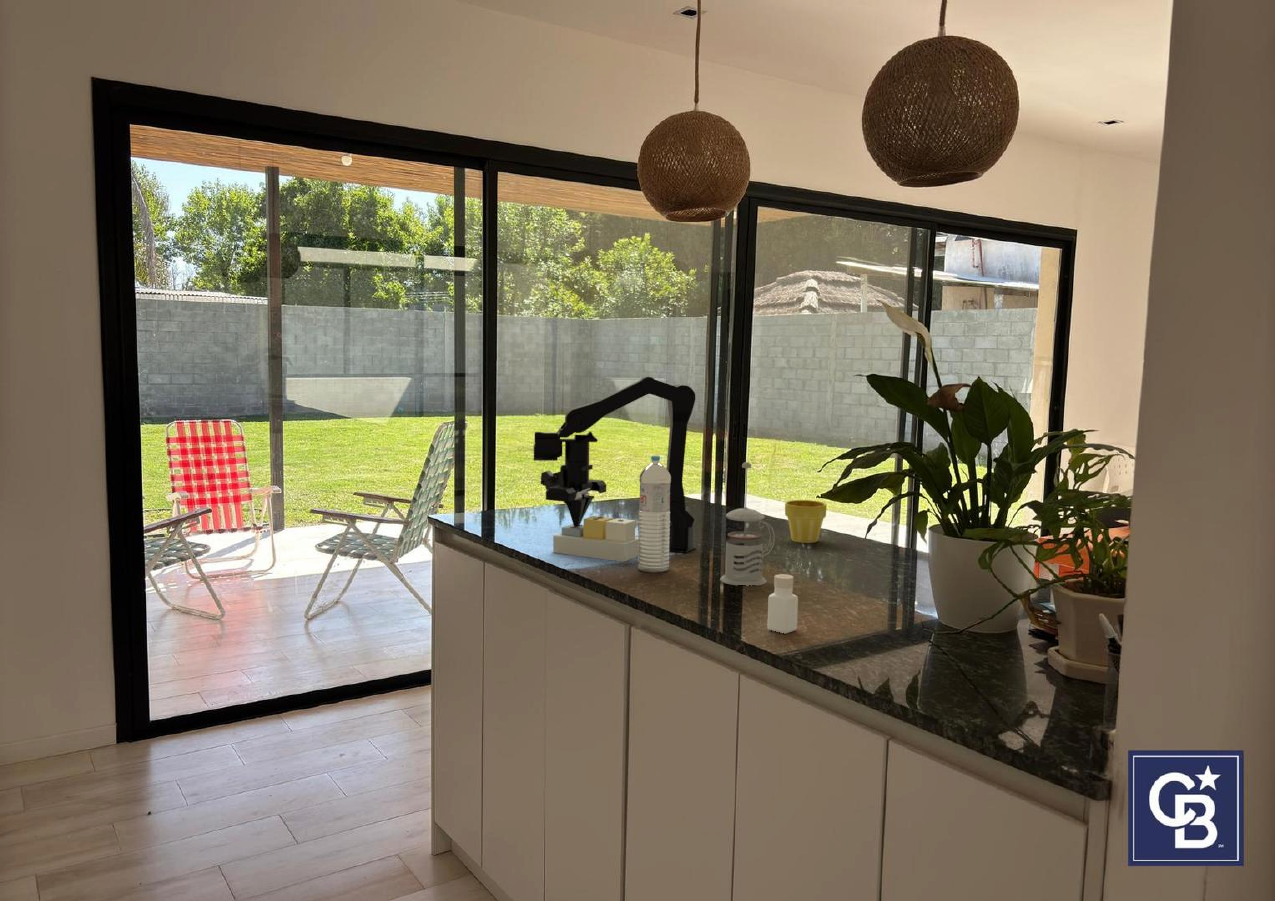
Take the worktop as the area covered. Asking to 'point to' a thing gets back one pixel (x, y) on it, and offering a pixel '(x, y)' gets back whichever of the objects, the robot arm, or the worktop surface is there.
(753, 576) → the french press
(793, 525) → the plant pot
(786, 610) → the white pill bottle
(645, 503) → the water bottle
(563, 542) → the panel
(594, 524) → the mustard tile
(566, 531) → the slate tile
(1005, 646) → the worktop surface
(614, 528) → the cream tile
